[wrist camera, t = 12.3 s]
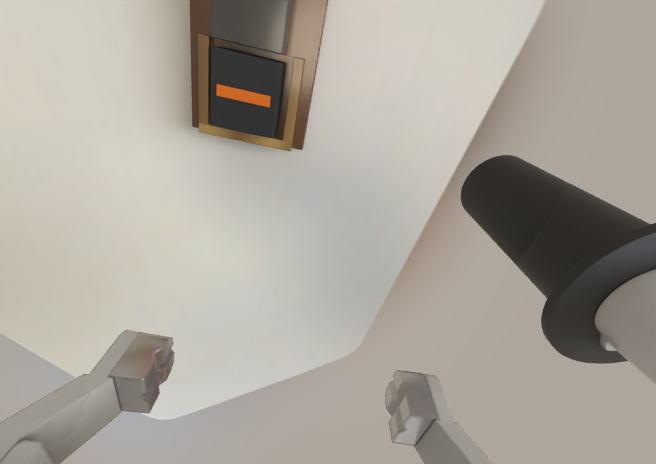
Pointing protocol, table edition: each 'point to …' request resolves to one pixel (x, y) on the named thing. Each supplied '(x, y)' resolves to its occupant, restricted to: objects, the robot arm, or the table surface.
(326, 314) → the table surface
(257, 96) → the black block with stripe
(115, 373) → the robot arm
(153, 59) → the table surface
